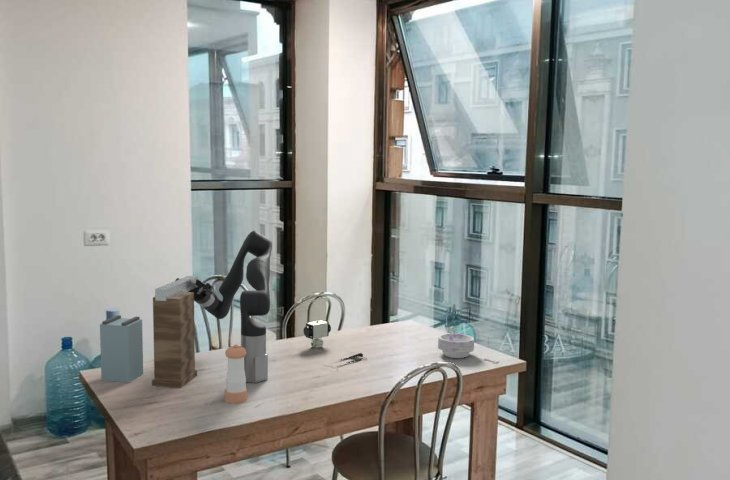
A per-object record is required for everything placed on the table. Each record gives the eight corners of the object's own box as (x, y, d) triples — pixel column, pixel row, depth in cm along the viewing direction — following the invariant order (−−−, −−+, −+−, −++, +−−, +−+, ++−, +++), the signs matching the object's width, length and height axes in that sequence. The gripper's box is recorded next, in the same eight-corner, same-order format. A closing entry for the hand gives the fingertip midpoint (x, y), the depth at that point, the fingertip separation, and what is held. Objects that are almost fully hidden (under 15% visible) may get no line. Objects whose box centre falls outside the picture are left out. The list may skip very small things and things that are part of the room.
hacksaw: (360, 355, 280) (360, 352, 279) (377, 361, 272) (378, 357, 272) (316, 367, 263) (316, 363, 263) (333, 373, 256) (333, 369, 256)
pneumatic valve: (331, 346, 291) (331, 319, 290) (309, 350, 284) (309, 323, 282) (323, 343, 295) (323, 316, 294) (301, 347, 288) (302, 320, 286)
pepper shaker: (250, 397, 228) (250, 342, 226) (241, 404, 221) (241, 348, 219) (230, 394, 230) (230, 341, 227) (221, 402, 223) (221, 346, 220)
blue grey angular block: (129, 382, 240) (128, 323, 237) (101, 380, 241) (99, 321, 239) (143, 374, 249) (142, 316, 247) (116, 371, 251) (114, 315, 248)
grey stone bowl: (462, 349, 291) (463, 331, 290) (480, 359, 277) (481, 340, 276) (431, 351, 286) (432, 333, 285) (447, 362, 272) (448, 343, 271)
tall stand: (180, 388, 235) (179, 299, 231) (151, 385, 237) (150, 298, 233) (197, 375, 249) (196, 291, 245) (169, 373, 251) (168, 290, 247)
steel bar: (166, 301, 229) (165, 289, 228) (155, 300, 230) (155, 289, 229) (197, 286, 254) (197, 276, 254) (187, 286, 255) (187, 275, 254)
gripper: (187, 285, 267) (171, 270, 252) (221, 287, 264) (206, 272, 249) (183, 303, 264) (166, 289, 249) (217, 305, 261) (202, 291, 246)
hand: (186, 281), depth 249 cm, fingers open, 7 cm apart
